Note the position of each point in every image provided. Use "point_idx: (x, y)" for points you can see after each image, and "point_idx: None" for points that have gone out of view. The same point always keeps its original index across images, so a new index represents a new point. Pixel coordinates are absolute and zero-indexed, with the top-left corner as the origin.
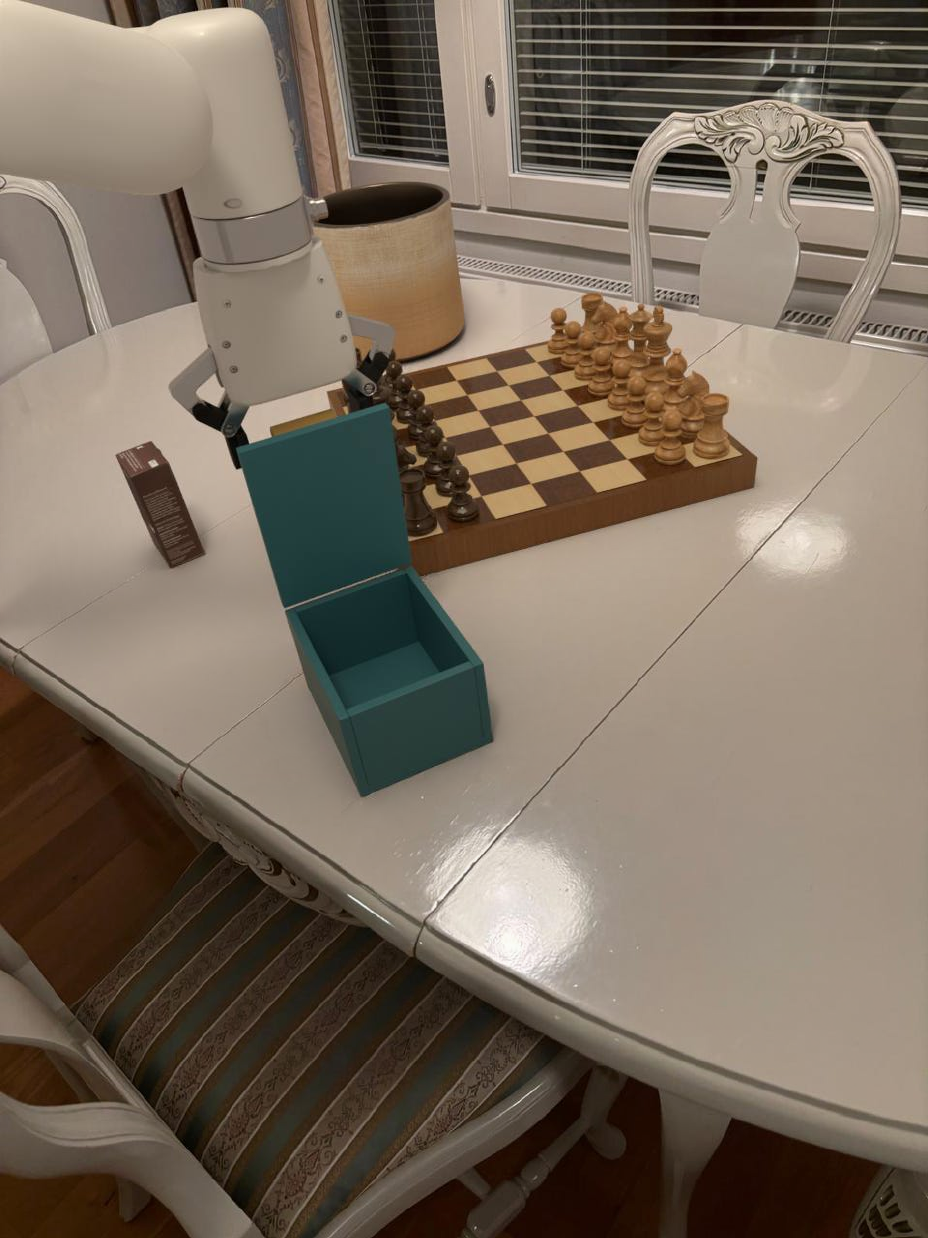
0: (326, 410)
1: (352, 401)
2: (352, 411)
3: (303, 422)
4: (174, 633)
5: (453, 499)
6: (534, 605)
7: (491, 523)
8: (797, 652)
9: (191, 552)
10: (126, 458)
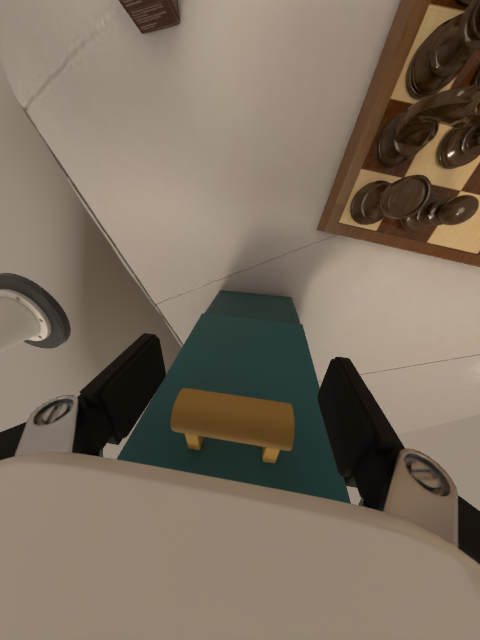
0: (281, 444)
1: (349, 434)
2: (343, 397)
3: (228, 440)
4: (148, 178)
5: (423, 209)
6: (363, 310)
7: (417, 245)
8: (415, 400)
9: (162, 19)
10: None
